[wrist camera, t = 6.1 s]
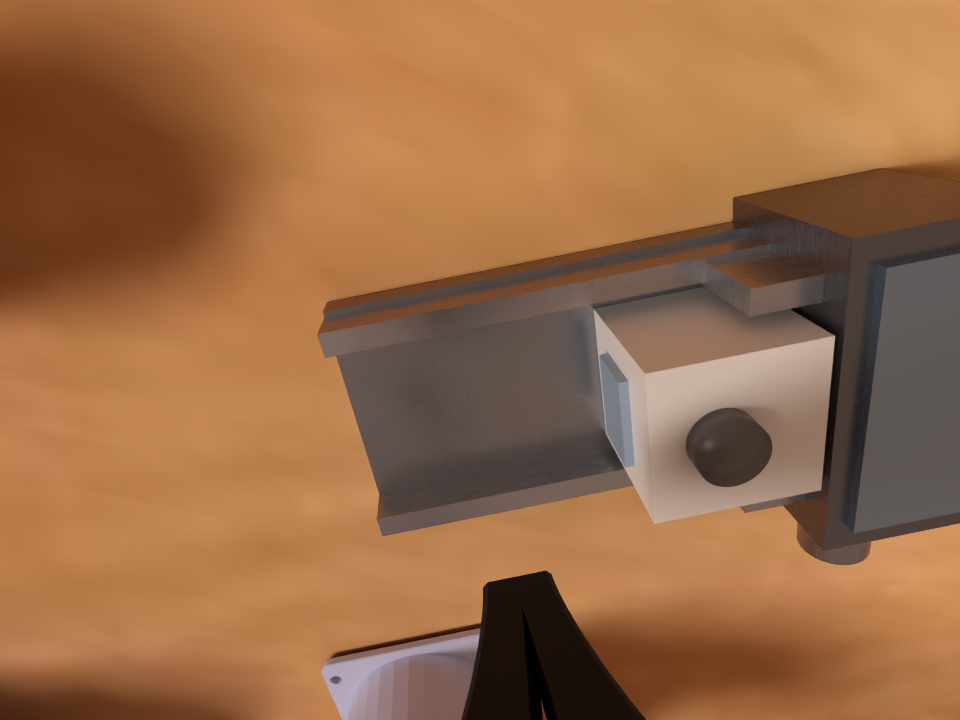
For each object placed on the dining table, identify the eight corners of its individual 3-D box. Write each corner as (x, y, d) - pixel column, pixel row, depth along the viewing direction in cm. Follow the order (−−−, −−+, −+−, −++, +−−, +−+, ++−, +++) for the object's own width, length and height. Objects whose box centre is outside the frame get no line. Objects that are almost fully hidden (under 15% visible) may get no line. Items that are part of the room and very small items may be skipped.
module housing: (844, 480, 25) (969, 595, 19) (409, 568, 25) (405, 710, 19) (880, 168, 20) (1068, 200, 14) (320, 279, 19) (277, 358, 14)
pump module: (737, 407, 22) (838, 507, 16) (597, 435, 22) (654, 544, 16) (739, 279, 20) (856, 348, 14) (584, 310, 20) (644, 390, 14)
